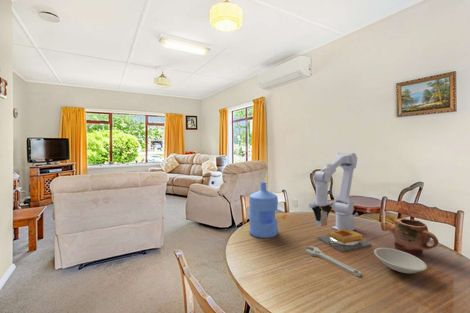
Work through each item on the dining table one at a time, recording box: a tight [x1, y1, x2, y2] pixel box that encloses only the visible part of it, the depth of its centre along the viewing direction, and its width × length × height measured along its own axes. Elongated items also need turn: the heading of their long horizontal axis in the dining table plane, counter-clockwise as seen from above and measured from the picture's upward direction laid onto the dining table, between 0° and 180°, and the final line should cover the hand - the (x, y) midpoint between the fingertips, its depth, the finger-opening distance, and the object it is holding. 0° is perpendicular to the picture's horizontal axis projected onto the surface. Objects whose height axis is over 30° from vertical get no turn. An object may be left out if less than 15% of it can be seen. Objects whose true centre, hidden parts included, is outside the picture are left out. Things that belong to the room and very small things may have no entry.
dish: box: [373, 247, 428, 274], centre depth 87 cm, size 18×14×5 cm
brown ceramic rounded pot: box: [389, 218, 439, 257], centre depth 101 cm, size 20×12×14 cm, turn 20°
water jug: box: [248, 181, 279, 239], centre depth 125 cm, size 16×16×28 cm
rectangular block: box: [315, 210, 328, 227], centre depth 118 cm, size 4×4×7 cm
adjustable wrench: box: [305, 245, 362, 277], centre depth 94 cm, size 25×6×2 cm, turn 25°
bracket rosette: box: [317, 228, 372, 253], centre depth 113 cm, size 18×16×4 cm
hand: (321, 220), depth 118 cm, fingers closed on rectangular block, 4 cm apart
